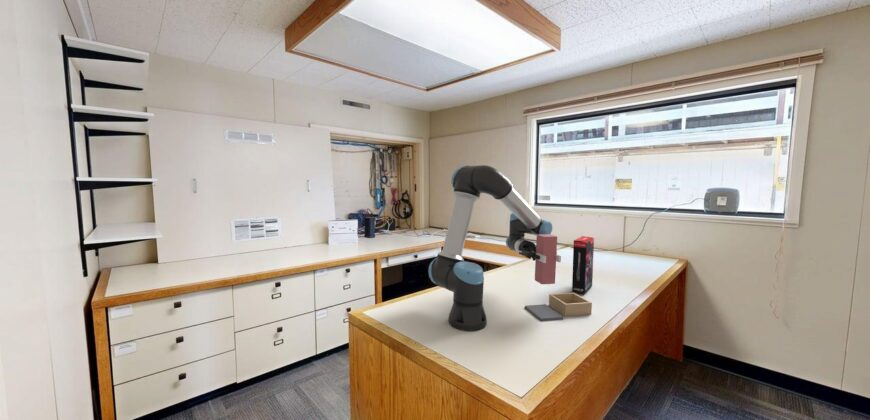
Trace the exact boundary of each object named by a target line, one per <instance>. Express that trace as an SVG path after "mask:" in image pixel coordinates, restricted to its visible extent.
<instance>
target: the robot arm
mask: <svg viewBox="0 0 870 420" xmlns="http://www.w3.org/2000/svg"><path fill="white" fill-rule="evenodd" d="M451 187H452V189H453V195H454V196H455V198H454V199H455V200H454V202H453V206H452V211H451V216H450V219H449V222H448V227H447V231H446V234H445V239H444V243H443V246H442V250H441V251H439V252H438V253H437V254H436V255H437V256H436V258H434V259H432V261H431V262H430V264H429V266H428V278H429V279H430V280H431V282H432V283H433V284H434V285H436V286H438V287H440V288H443V289H445V290H447V291H449V292H452V293H453V302H452V306H451V309H450V311H449V314H448V324H449V325H450V326H451V327H452V328H454V329H458V330H461V331H467V332H471V331H473V332H474V331H479V330H482V329H484V328H486V326H487V325H488V323H487V322H488V320H487V315H486V311H485V308H484V304H483V303H484V301H483V300H484V284H485V283H484V282H485V281H484V280H485V278H484V277H485V276H484V268H482V266H480V265H479V264H477V263H475V262H471V261H470V262H469V261H465V260H464V258H463V256H462V255H463V251H464V247H465V244H466V240H467V239H466V238H467V234H468V231H469V227H470V222H471V218H472V215H473V211H474V210H473V209H474V207H475V203H476V202H477V201H478V200H480V197H481V194H487V195H489V196H491V197H492V198H494V199H495V200H496V201H500V202H501V203H502V204H503V205H504V206H505V207H506V208H507V209H508V210H509V211H510V212H511V213H510V216H509V234H508V236H507V238H506V240H505V244H506V247H507V248H508V249H509V250H511V251H513V252H516V253H518V254H519V255H521V256H524V257H525V258H527V259H530V260H531V259H532V261H536V259H537V260H539V261H541V262H543V263H546V256H544V255H542V254H539V253H536V244H535V242H534V241H531V240H529V239H527V238H526V239H525V236H526V235H525V234H528V235H534V236H537V235H539V234H550V235H552V232H553V224H552V222H551V221H549V220H547V219H543V218H541V216H540V215H539V214H538V213H537V212H536V211H535V210H534V209H533V208H532V207H531V206H530V205H529V203H528V202H527V201H526V200H525V199H524V198H523V197H522V195H520V193H519V192H517V190H516V189H515V188H514V186H513V183H512V181H511V180H510V179H509V178H508V177H507V176H506V175H505V174H503V172H501V171H500V170H498V169H496V168H495V167H493V166H490V165H488V164H487V165H485V164H483V165H462V166H460V167H458V168H456V170H454V172H453V173H452V175H451ZM561 261H562V255H560V254H558V252H557V253H556V263H561Z"/></svg>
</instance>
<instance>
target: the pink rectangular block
mask: <svg viewBox="0 0 870 420" xmlns="http://www.w3.org/2000/svg"><path fill="white" fill-rule="evenodd" d="M535 243H536V244H535V245H536V253H539V254H542V255H544V256H546V263H543V262H541V261H539V260H537V259H536V260H535V266H534V281H536V282H537V283H539V284H540V285H554V284H556V271H557V269H556V268H557V261H556V253H557V254H558V252H557V250H558V249H557V248H558V236H556V235H552V234H539V235H536V241H535Z"/></svg>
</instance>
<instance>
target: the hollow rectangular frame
mask: <svg viewBox="0 0 870 420" xmlns="http://www.w3.org/2000/svg"><path fill="white" fill-rule="evenodd" d="M548 306H549V307H550V308H552V309H553V310H555V311H556V312H557V313H559V314H560V315H561V314H562V316H563V317H570V316H581V315H592V309H593V308H592V307H593V302H591V301H590V300H588V299H586V298H584V297H582V296H581V295H579V294H578V293H575V292H565V293H550V294H548Z"/></svg>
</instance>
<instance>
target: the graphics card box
mask: <svg viewBox="0 0 870 420" xmlns="http://www.w3.org/2000/svg"><path fill="white" fill-rule="evenodd" d="M594 246H595V237H591V236H585V235H582V236H580V237H577V238H576V239H574V240H573V252H572V255H573V256H572V277H571V279H572V282H571V286H572V287H571V293H575V294H580V295H581V294H582V295H585V294H587V292H588V291H589V290H590V289H591V288H592V287H593V277H594V276H593V271H594V248H595V247H594Z"/></svg>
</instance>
